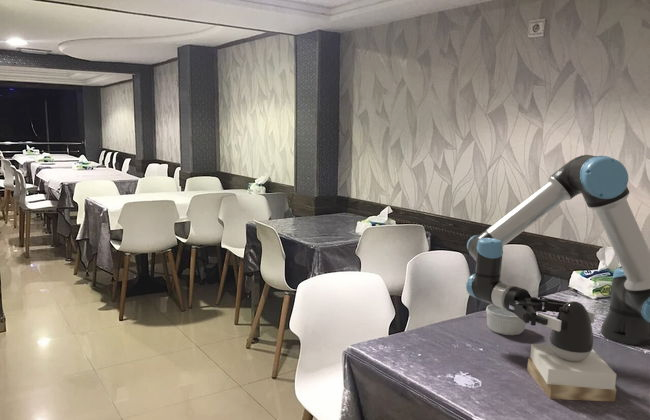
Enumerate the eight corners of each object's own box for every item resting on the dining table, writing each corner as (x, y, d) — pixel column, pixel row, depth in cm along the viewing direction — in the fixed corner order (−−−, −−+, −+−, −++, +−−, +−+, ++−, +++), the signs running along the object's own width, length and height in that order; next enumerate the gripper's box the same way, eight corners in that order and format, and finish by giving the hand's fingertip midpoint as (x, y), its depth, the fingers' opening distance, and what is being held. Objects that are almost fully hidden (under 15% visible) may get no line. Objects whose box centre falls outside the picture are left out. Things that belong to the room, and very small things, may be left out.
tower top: (590, 362, 144) (591, 348, 144) (614, 389, 129) (616, 374, 128) (530, 357, 146) (531, 343, 146) (547, 384, 131) (548, 368, 130)
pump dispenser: (539, 352, 140) (544, 298, 137) (567, 346, 144) (572, 293, 142) (571, 368, 131) (577, 310, 128) (600, 362, 135) (606, 305, 132)
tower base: (584, 374, 146) (586, 360, 145) (614, 403, 130) (616, 388, 129) (526, 372, 146) (528, 358, 145) (549, 401, 130) (551, 385, 130)
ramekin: (517, 323, 183) (518, 303, 182) (532, 337, 170) (534, 317, 169) (479, 322, 183) (481, 303, 182) (492, 336, 170) (494, 316, 169)
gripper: (539, 305, 159) (605, 328, 141) (479, 316, 147) (543, 344, 129) (541, 281, 158) (608, 301, 140) (481, 291, 146) (546, 315, 128)
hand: (577, 322), depth 134 cm, fingers open, 13 cm apart
